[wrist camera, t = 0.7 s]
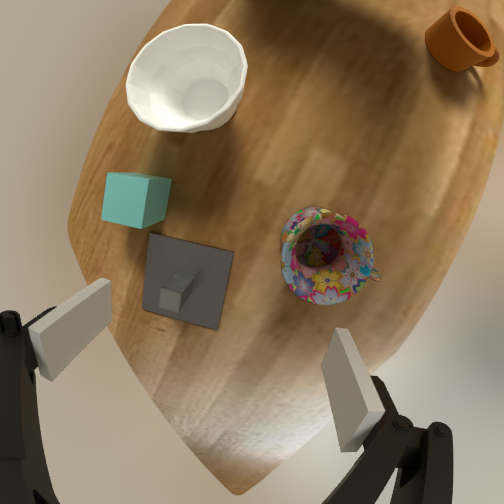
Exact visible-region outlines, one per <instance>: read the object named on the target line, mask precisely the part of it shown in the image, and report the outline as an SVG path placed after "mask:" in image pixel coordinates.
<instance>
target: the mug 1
mask: <svg viewBox="0 0 504 504" xmlns="http://www.w3.org/2000/svg"><path fill="white" fill-rule="evenodd" d="M281 246H282V253H281V270H282V274H283V277H284V280H285V282H286V284H287V285H288V287H289V288H290V289H291V291H292V292H293V293H294V294H296V295H297V296H298V297H300V298H301V299H303V300H305V301H307V302H309V303H313V304H317V305H332V304H337V303H340V302H343V301H345V300H347V299H349V298H350V297H352V296H353V295H355V294H356V293H357V292H358V291H359V290H360V289H361V288H362V287H363V286H364V284H365V283H366V281H367V279H368V278H370V279H372V280H375V281H380V280H381V279H382V275H381V274H380V273H379V272H378V271H376V270H375V269H373V268H372V266H373V258H374V254H373V246H372V242H371V240H370V237H369V235H368V233H367V232H366V230H365V229H364V228H363V227H362V226H361V225H360V224H359V223H358V222H357V221H356V220H354V219H353V218H351V217H349V216H347V215H344V214H340V213H335V212H331V211H329V210H327V209H324V208H320V207H309V208H304V209H302V210H300V211H298V212H296V213H295V214H293V215H292V216H291V217H290V218H289V219H288V221H287V222H286V224H285V226H284V228H283V231H282V235H281Z"/></svg>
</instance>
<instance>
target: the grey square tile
mask: <svg viewBox="0 0 504 504" xmlns="http://www.w3.org/2000/svg"><path fill="white" fill-rule="evenodd" d="M233 255H234V252H233V251H228V250H224V249H220V248H216V247H211V246H207V245H203V244H199V243H194V242H190V241H186V240H182V239H178V238H173V237H169V236H165V235H161V234H157V233H152V232H150V234H149V242H148V250H147V259H146V268H145V279H144V291H143V305H142V309H145V310H148V311H151V312H154V313H158V314H161V315H164V316H168V317H171V318H175V319H178V320H182V321H185V322H189V323H193V324H196V325H200V326H204V327H208V328H212V329H216V330H218V326H219V321H220V316H221V312H222V307H223V302H224V297H225V292H226V288H227V283H228V278H229V273H230V269H231V264H232V259H233Z"/></svg>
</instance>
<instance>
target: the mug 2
mask: <svg viewBox="0 0 504 504" xmlns="http://www.w3.org/2000/svg"><path fill="white" fill-rule="evenodd" d="M425 42H426V45H427V47H428V49H429V51H430V53H431V54H432V55H433V57H434V58H435V59H436V60H437V61H438V62H439V63H440V64H441V65H442V66H444V67H445V68H447V69H449V70H451V71H454V72H459V71H462V70H464V69H466V68H468V67H470V66H472V65H474V66H478V67H489V66H492V65H494V64H495V63H496V62H498V60H499V52H498V50H497V48H496V47H495V46H494V42H493V39H492V36H491V34H490V33H489V31H488V29H487V28H486V27H485V25H484V24H483V23H482V22H481V20H479V19H478V18H477V17H476V16H475V15H474V14H473V13H471V12H470V11H468V10H467V9H464V8H462V7H453V8H451V9H450V10H449V11H448V12H447V13H446V14H444V15H443V16H442V17H441V18H440V19H439V20H437V21H436V22H435V23H434V24H433V25H432V26H431V27H429V28H428V29H427V31H426V33H425Z"/></svg>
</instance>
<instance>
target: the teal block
mask: <svg viewBox="0 0 504 504" xmlns="http://www.w3.org/2000/svg"><path fill="white" fill-rule="evenodd" d="M171 182H172V179H170V178H165V177H159V176H153V175H147V174H141V173H108V174H107V180H106V187H105V194H104V202H103V210H102V220H105V221H109V222H113V223H117V224H122V225H126V226H130V227H134V228H138V229H143V228H146V227H148V226H150V225H153V224H155V223H158V222H160V221H162V220H165V216H166V210H167V204H168V199H169V193H170V188H171Z"/></svg>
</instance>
